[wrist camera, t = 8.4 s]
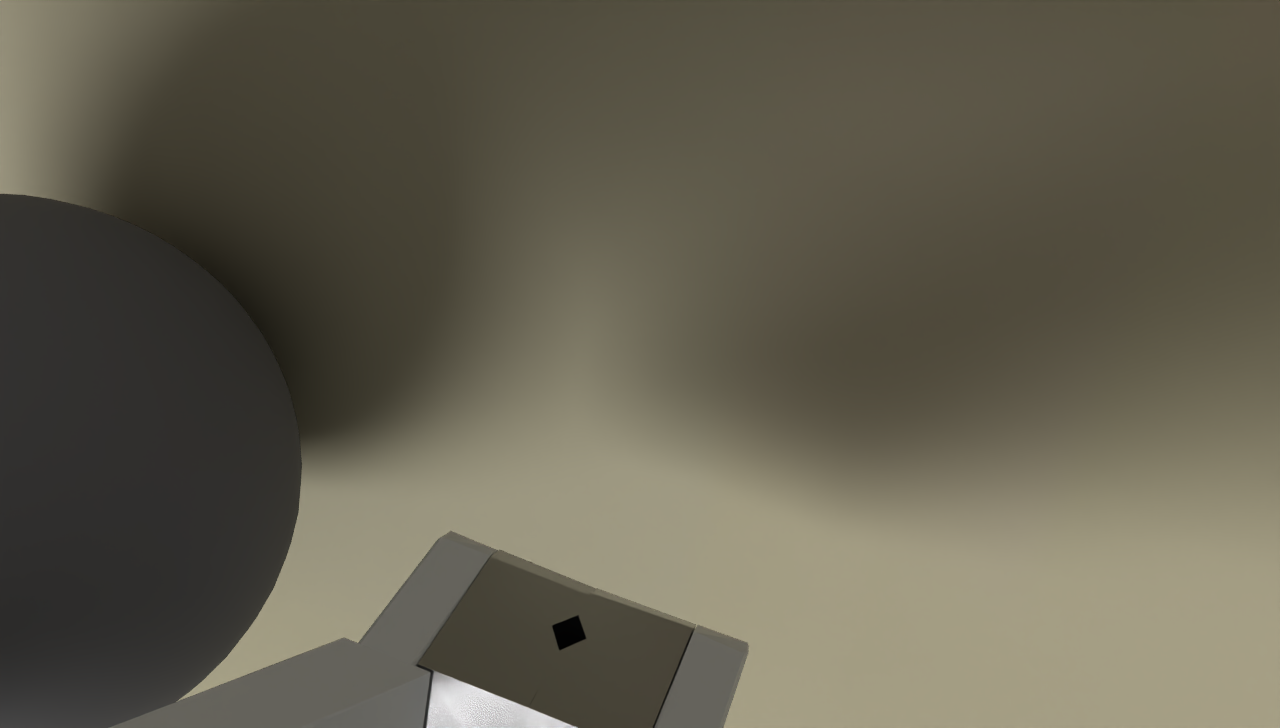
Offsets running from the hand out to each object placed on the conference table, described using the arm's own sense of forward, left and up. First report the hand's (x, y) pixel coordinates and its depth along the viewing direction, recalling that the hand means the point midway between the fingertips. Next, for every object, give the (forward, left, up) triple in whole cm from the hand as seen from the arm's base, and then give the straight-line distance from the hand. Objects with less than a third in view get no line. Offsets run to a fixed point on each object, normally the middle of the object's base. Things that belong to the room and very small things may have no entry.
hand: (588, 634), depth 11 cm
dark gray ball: (-6, -1, +1) cm, 6 cm away
